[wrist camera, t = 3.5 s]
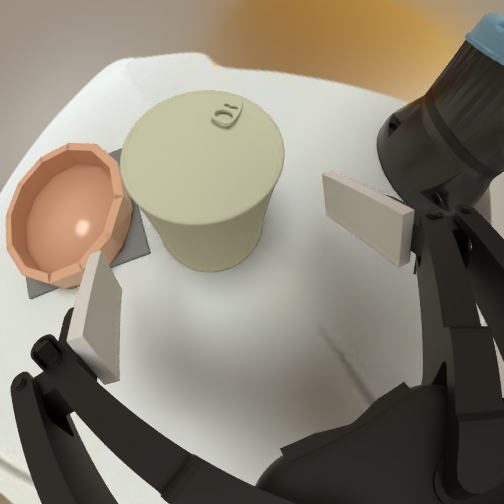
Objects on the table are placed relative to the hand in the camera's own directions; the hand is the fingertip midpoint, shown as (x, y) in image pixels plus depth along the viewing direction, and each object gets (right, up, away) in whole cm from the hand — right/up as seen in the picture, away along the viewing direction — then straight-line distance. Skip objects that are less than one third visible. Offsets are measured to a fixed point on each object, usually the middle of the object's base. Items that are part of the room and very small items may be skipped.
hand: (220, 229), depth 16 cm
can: (-2, +1, +10) cm, 11 cm away
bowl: (-16, +2, +9) cm, 18 cm away
